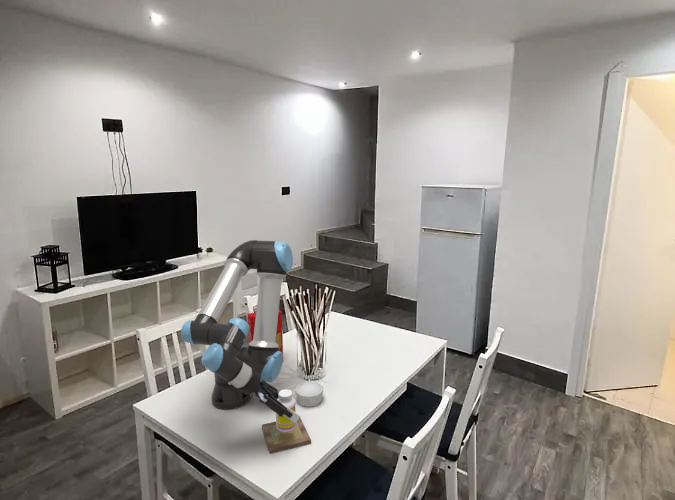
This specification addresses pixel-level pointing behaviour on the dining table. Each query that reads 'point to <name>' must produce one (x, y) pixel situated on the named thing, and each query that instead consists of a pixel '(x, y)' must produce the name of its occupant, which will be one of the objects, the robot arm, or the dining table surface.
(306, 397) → the ramekin
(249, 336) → the food packaging
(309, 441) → the walnut plinth
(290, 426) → the supplement bottle
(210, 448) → the dining table surface
